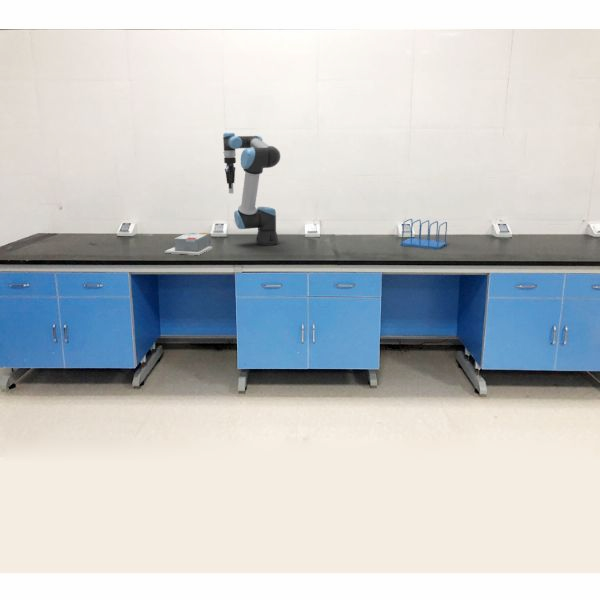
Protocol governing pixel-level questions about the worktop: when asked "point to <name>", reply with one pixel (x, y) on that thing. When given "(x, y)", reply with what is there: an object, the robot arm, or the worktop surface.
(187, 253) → the white flat square panel
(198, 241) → the hard drive box
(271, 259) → the worktop surface
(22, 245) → the worktop surface
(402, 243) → the file sorter
